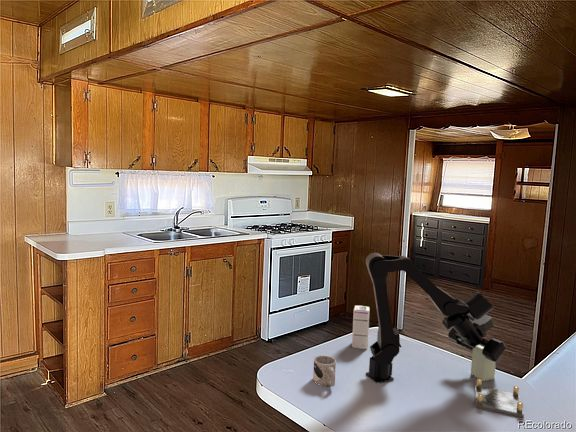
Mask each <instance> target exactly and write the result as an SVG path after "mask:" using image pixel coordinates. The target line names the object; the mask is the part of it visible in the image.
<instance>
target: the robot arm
mask: <svg viewBox="0 0 576 432" xmlns="http://www.w3.org/2000/svg"><path fill="white" fill-rule="evenodd" d="M365 264H366V268H367V272H368V274H369V276H370V279H371V282H372V285H373V286H372V287H373V294H374V299H375V300H374V301H375V305H376V306H375V308H376V314H377V321H378V322H377V323H378V329H377V338H376V339H377V340H376V341H375V342H374V343H372V344H371V345H370V346H369V349H370V352H371V354H372V356H371V357H370V356H369V361H368V362H369V365H368V371H367V372H365V375H366V376H367V377H369V378H370V379H371V380H372V381H374V382H375V383H376V384H380V383H385V382H390V381H394V377H393V376H392V375H393V361H394V358H396V357H397V356H398V354H399V353H400V350H401V349H400V348H402V345H401V342H400V333H399V331H398V329H397V328H396V327H393V324H392V318H391V310H390V303H389V302H390V301H389V295H388V288H387V280H388V274H389V273H396V272H401V271H404V272H405V274H407V276H409V278H411V279H412V281H413V282H414V283H416V284H417V285H418V286H419V287H420V289H422V290H423V291H424V292H425V293H426V294H427V295H428V297H429V299H430V301H431V302H432V304H434V306H435V307H436V309H437V310H438V311H440V313H441V314H442V315H443V316H444V317H443V319H442V320H441V324H442V325H443V326H444V327H445V328H446V329H447V330H449V331H448V334H447V337H448V338H449V340H450V341H452V342H453V343H456V344H458V345H459V346H460V347H461V346H462V347H463V348H466V349H468V350H470V351H472V352H473V348H475V347H476V346H478V345H481V346H483V347H484V348H483V349H482V354H483V355H484V356H485V358H487V359H489V360H491V361H494V362H496V364H499V363H500V362H501V355H502V353H504V351H505V350H506V348H507V347H506V344H505V343H504V342H503V341H501V340H499V339H497V338H494V337H493V338H490V339H489V340H488V339H486V338H485V337H486V336H487V332H488V331H489V330H491V329H493V328H494V327H495V326H494V321H493V317H492V316H490V315H488V313H489V312H491V311H492V310H494V306H493V305H492V304H491V302H490V301H489V300H487V299H486V298H485V297H484V296H483V294H482V293H481V292H479V291H475V292H474V293H473V294H471V296H470V297H469V298H468V297H467V299H466V300H465V301H463V300H462V299H459V298H455V297H453V296H452V295H450V294H449V293H448V292H447V291H444V290H443V289H442V288H440V287H438V286H437V285H436V284H435V283H433V282H432V280H430V279H429V278H428V276H426V274H424V273H423V272H422V271H421V270H420V269H419V268H418V267H417V266H416V265H415V263H413V261H412V260H411V259H410V258H409V257H408V256H406V255H387V254H380V253H379V252H372V253H369V254H368V255H367V256H366V258H365Z"/></svg>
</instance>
